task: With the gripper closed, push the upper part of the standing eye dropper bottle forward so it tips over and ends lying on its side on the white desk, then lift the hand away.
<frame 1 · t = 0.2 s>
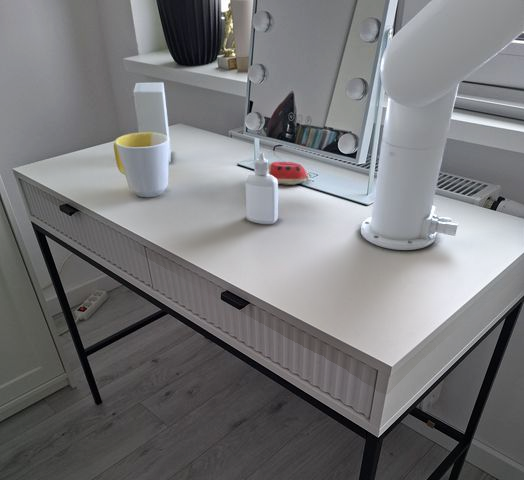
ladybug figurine: (284, 181, 107), on the table
mug: (146, 191, 104), on the table
cosmetic box: (158, 159, 120), on the table
eye dropper bottle: (262, 221, 92), on the table
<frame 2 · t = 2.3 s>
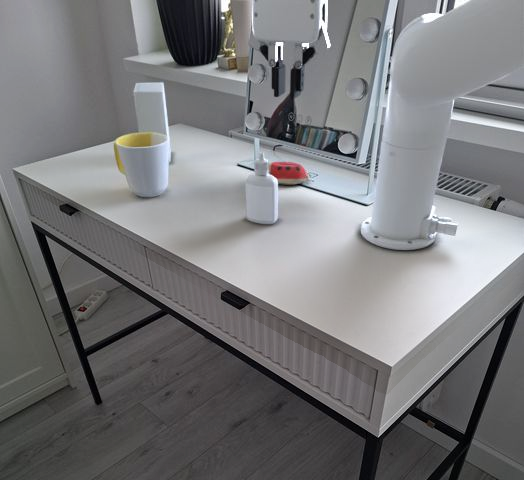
hand: (287, 94, 77), 21 cm above the table, tool pointing down, fingers closed
nothing on the table moved.
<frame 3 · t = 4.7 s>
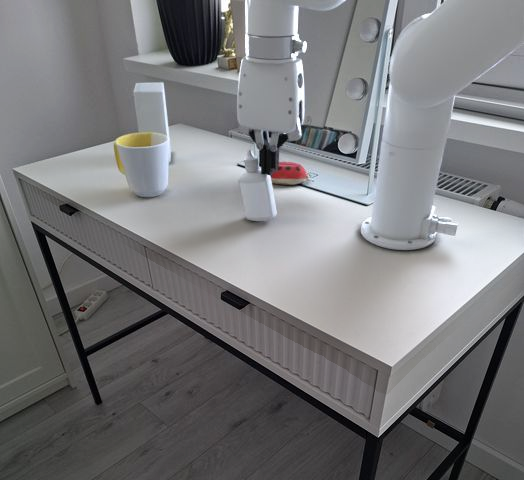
hand: (268, 172, 86), 9 cm above the table, tool pointing down, fingers closed
eye dropper bottle: (262, 218, 92), on the table, touching gripper
everything else where it was.
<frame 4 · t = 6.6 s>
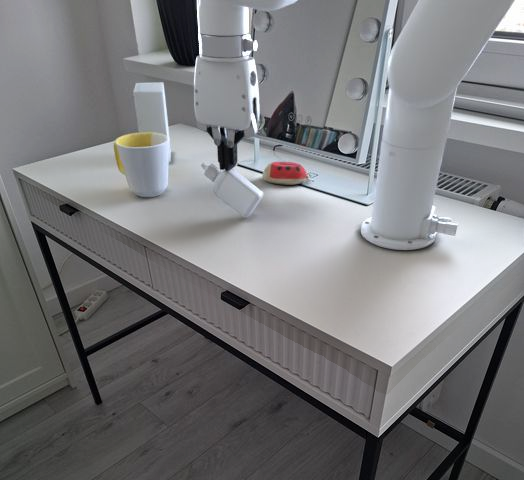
hand: (227, 167, 88), 9 cm above the table, tool pointing down, fingers closed
eye dropper bottle: (256, 207, 91), point 2 cm above the table, touching gripper
everything else where it was.
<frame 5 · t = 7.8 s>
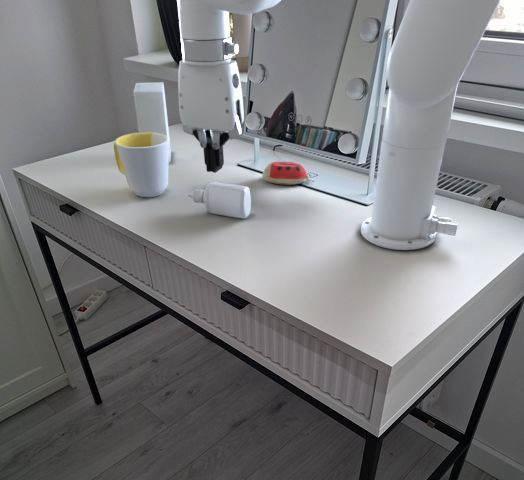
hand: (214, 169, 90), 8 cm above the table, tool pointing down, fingers closed
eye dropper bottle: (248, 203, 91), point 3 cm above the table
everything else where it was.
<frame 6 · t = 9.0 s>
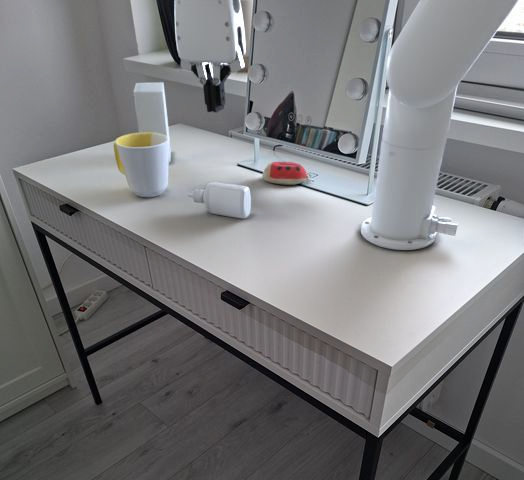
hand: (215, 110, 83), 18 cm above the table, tool pointing down, fingers closed
nothing on the table moved.
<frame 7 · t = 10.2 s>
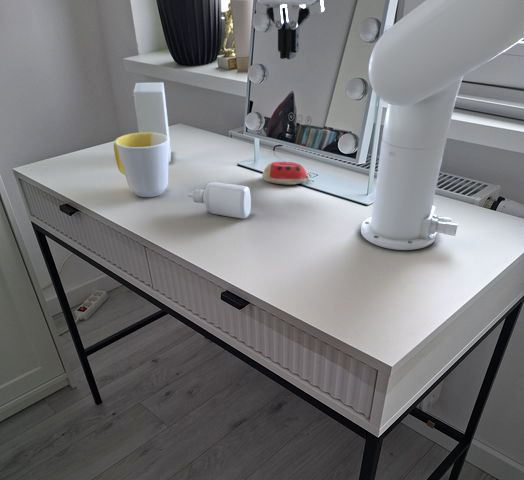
hand: (288, 57, 81), 25 cm above the table, tool pointing down, fingers closed
nothing on the table moved.
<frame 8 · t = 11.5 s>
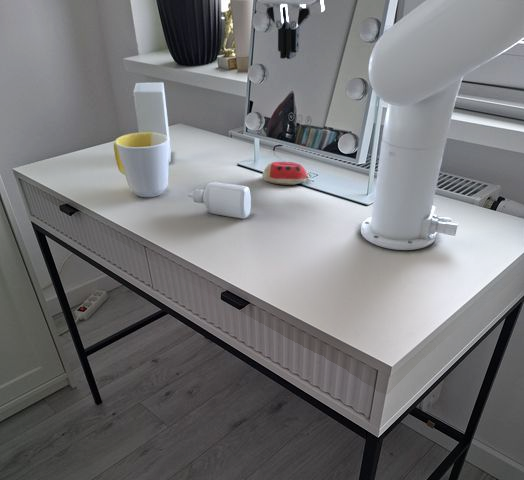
hand: (288, 57, 81), 25 cm above the table, tool pointing down, fingers closed
nothing on the table moved.
at the end: eye dropper bottle tilted 90°; eye dropper bottle inside the target area (2.4 cm from its centre), point 2.8 cm above the table; the gripper is holding nothing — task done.
